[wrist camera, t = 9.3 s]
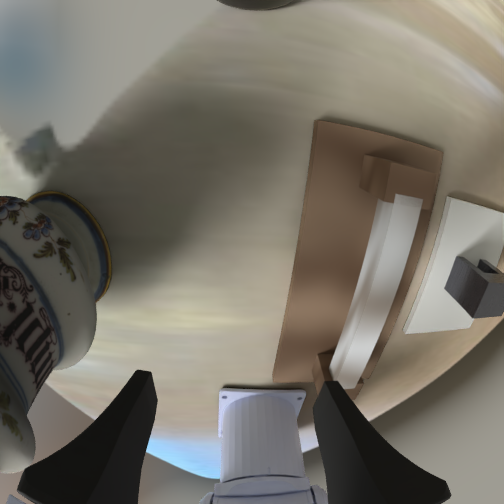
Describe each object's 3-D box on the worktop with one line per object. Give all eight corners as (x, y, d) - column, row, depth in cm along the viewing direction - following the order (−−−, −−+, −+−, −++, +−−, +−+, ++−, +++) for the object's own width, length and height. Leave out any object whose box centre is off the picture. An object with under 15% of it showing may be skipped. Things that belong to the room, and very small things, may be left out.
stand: (365, 371, 24) (380, 405, 20) (272, 373, 23) (276, 414, 19) (435, 150, 16) (476, 160, 12) (314, 120, 15) (337, 118, 11)
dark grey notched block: (474, 289, 20) (501, 315, 16) (443, 288, 20) (472, 318, 16) (485, 259, 19) (516, 283, 15) (456, 255, 18) (488, 282, 14)
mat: (466, 324, 23) (469, 327, 22) (402, 329, 22) (405, 334, 21) (507, 214, 18) (512, 216, 17) (446, 195, 17) (451, 198, 17)
